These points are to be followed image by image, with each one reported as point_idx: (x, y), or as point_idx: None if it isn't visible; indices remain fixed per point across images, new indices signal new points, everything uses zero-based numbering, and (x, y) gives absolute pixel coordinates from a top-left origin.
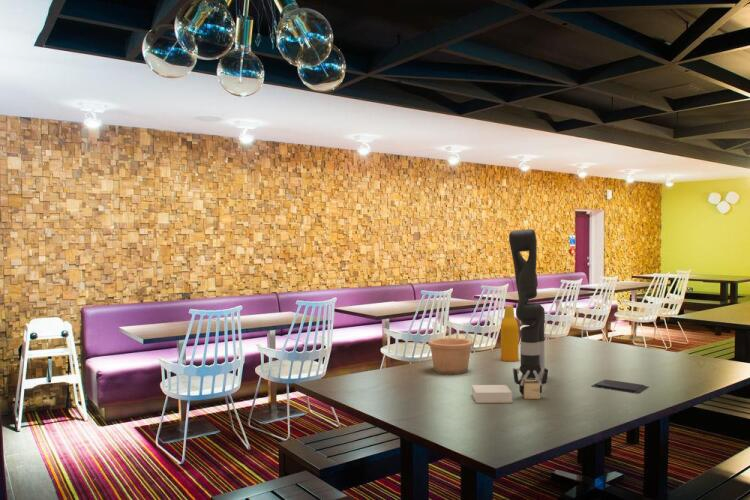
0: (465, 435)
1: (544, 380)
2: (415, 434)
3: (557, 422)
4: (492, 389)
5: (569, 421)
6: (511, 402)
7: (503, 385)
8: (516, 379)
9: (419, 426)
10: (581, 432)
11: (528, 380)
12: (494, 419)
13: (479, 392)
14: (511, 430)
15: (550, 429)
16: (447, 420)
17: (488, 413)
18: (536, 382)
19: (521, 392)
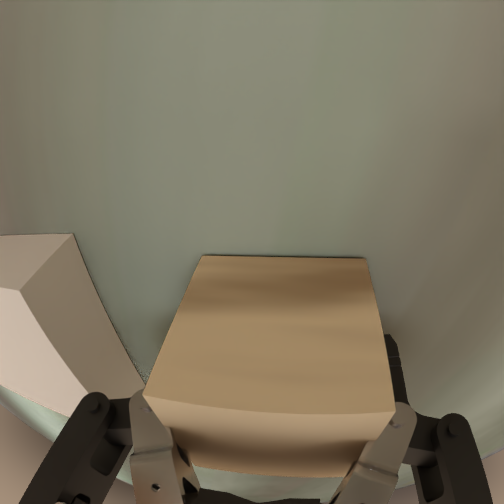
0: None
1: (422, 475)
2: (46, 438)
3: (290, 487)
4: (16, 371)
5: (325, 486)
6: (143, 387)
7: (13, 305)
8: (104, 461)
9: (30, 423)
10: None
11: (255, 424)
12: (129, 454)
13: (6, 387)
14: None
15: (258, 494)
16: (46, 423)
17: None
18: (332, 465)
19: None
